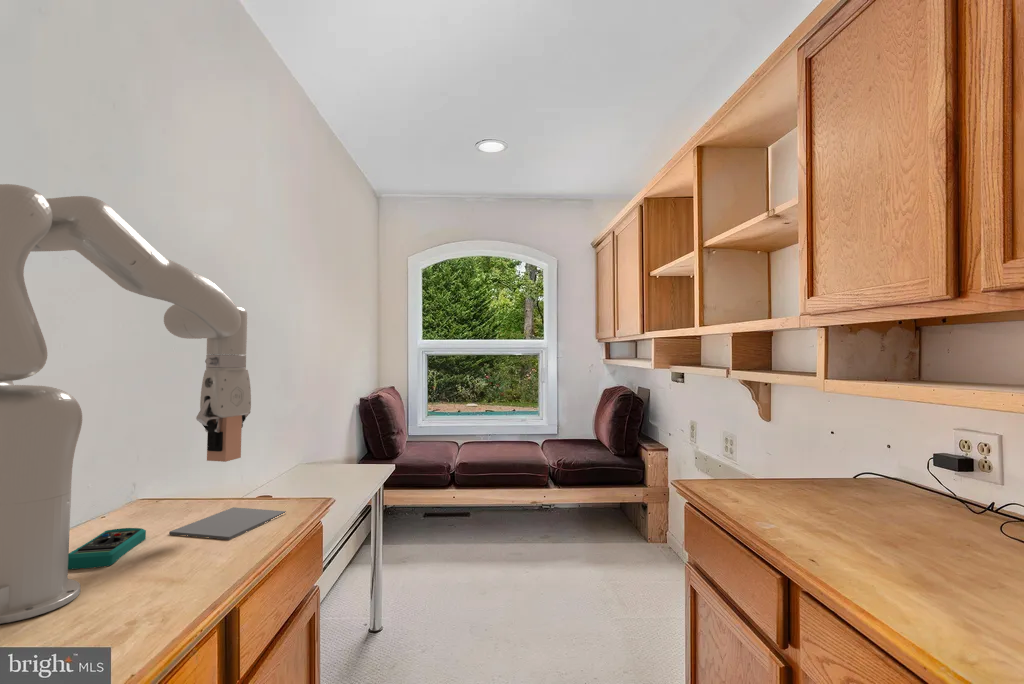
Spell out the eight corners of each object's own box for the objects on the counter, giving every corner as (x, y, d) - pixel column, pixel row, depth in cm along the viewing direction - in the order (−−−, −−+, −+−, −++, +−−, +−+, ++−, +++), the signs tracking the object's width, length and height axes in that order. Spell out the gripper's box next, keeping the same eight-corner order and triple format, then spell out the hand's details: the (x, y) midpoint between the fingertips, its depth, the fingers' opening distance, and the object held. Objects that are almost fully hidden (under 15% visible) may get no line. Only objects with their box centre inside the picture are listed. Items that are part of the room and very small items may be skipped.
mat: (229, 540, 102) (229, 536, 102) (169, 534, 105) (169, 531, 105) (285, 513, 120) (286, 511, 120) (233, 509, 123) (233, 507, 123)
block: (225, 461, 108) (226, 413, 108) (206, 460, 109) (208, 412, 109) (240, 457, 112) (242, 411, 112) (222, 456, 113) (224, 410, 113)
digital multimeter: (147, 540, 103) (148, 525, 103) (110, 569, 89) (110, 551, 89) (104, 543, 101) (105, 528, 102) (59, 573, 87) (60, 555, 87)
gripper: (211, 364, 102) (208, 457, 101) (267, 363, 119) (265, 443, 118) (179, 363, 103) (176, 455, 103) (239, 363, 120) (237, 442, 119)
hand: (224, 447), depth 110 cm, fingers closed on block, 4 cm apart
